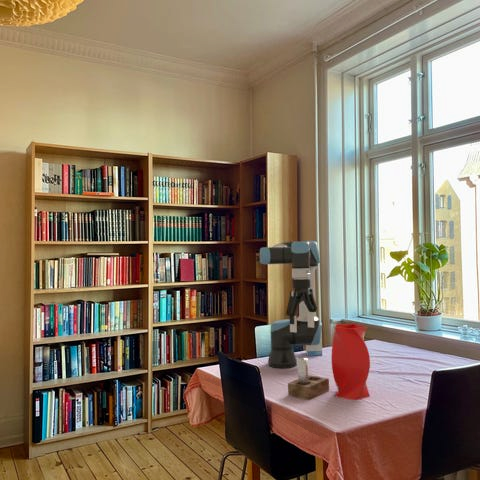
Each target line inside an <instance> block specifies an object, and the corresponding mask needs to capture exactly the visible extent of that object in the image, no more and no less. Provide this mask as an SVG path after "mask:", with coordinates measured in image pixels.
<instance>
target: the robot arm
mask: <svg viewBox="0 0 480 480" xmlns="http://www.w3.org/2000/svg"><path fill="white" fill-rule="evenodd" d="M259 261H260V264H262V265H291V278H293V279H292V281H291V283H292V284H291V287H292V288H293V289H294V290H292V291H291V290H290V292H289V299H288V303H287V307H286V311H285V315H286V316H287V317H289V318H288V319H287V318H285V319H279V320H275V321H273V322H272V323H271V324H270V352H269V356H268V360H267V365H268V367H271V368H276V369H289V368H294V367H297V366H298V359H297V358H296V355H295V351H294V346H306V345H310V346H311V345H318V344H319V343H320V338H321V335H322V326H323V323H322V322H321V321H320V318H319V317H318V316H317V310H318V307H317V303H316V269H317V268H318V265H319V264H320V263H321V258H320V251H319V247H318V242H317V241H313V240H305V241H304V240H302V241H301V240H299V241H296V240H295V241H284V242H281V243H276V244H275V245H273V246H271V247H270V246H265V247H261V248H260V249H259ZM298 310H299V311H298ZM297 311H298V312H299V313H298V314H299V315H298V317H297V315H296V314H297Z"/></svg>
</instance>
